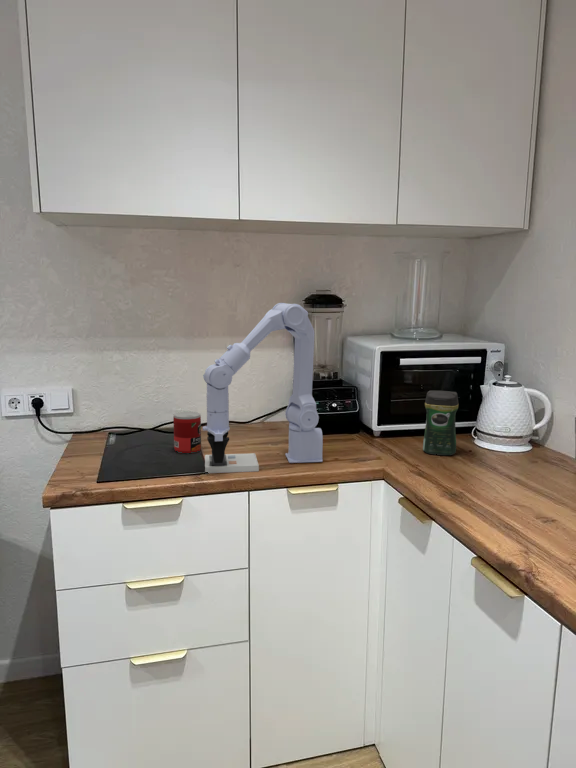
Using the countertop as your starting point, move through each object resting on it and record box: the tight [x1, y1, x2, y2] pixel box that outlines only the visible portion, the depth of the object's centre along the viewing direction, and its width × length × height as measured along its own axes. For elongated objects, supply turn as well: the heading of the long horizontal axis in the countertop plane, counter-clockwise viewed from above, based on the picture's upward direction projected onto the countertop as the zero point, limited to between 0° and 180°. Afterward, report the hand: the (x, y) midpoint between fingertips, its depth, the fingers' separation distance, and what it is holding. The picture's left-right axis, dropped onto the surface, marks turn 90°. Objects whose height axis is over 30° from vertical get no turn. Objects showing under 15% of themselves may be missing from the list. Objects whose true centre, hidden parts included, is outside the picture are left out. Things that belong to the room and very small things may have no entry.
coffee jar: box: [422, 390, 459, 456], centre depth 169 cm, size 10×8×19 cm
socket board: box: [204, 452, 260, 474], centre depth 155 cm, size 14×11×2 cm
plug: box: [211, 452, 225, 466], centre depth 152 cm, size 3×3×7 cm
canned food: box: [173, 411, 202, 454], centre depth 168 cm, size 8×8×11 cm
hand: (218, 460), depth 152 cm, fingers closed on plug, 3 cm apart
